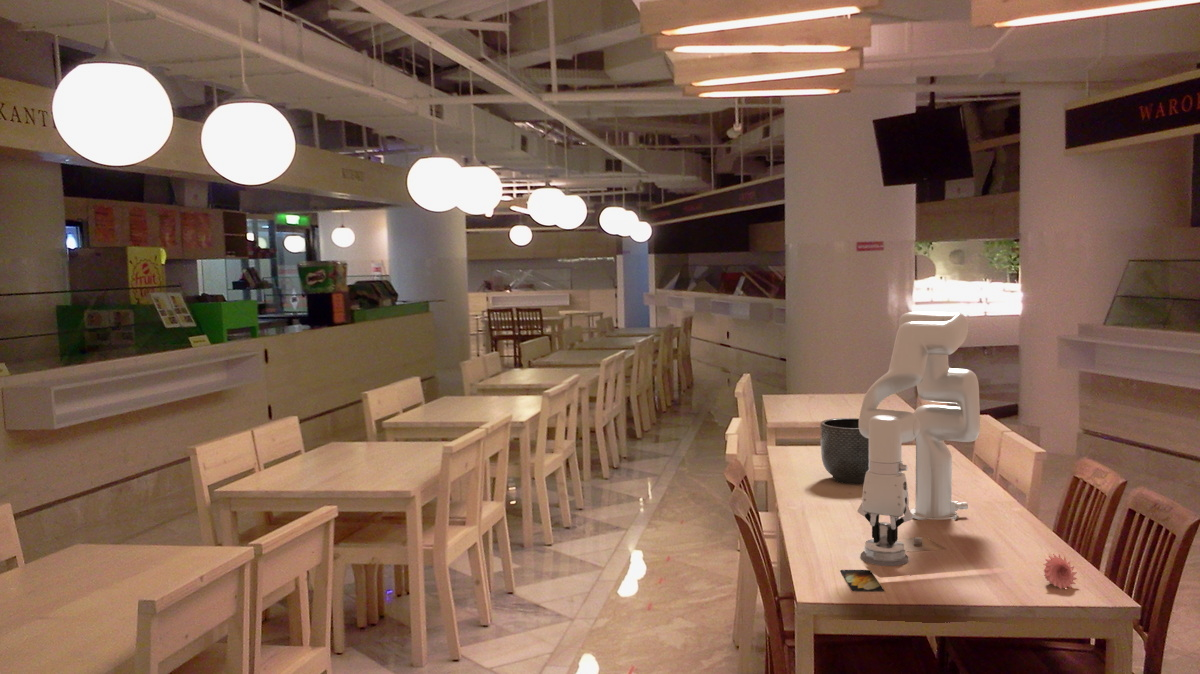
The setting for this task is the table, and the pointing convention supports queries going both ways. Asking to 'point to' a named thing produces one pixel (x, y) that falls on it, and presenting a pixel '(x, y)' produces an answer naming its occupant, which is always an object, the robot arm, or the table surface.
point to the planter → (844, 450)
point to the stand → (920, 544)
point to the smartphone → (862, 581)
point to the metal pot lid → (883, 562)
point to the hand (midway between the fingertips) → (884, 541)
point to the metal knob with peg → (884, 546)
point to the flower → (1059, 572)
